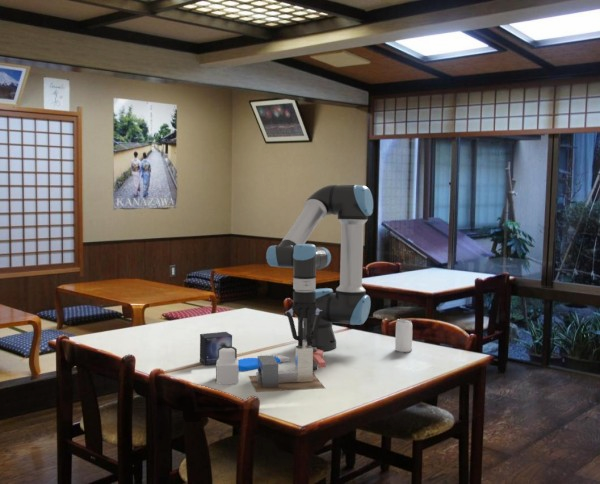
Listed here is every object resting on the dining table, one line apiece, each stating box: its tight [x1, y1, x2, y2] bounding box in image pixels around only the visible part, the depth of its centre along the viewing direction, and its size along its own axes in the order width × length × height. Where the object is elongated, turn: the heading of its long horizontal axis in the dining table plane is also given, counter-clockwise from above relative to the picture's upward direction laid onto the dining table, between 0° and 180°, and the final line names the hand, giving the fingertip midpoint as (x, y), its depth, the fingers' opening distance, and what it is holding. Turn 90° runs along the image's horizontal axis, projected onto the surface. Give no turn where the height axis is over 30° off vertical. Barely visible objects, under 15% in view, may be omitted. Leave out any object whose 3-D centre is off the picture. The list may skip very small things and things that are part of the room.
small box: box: [199, 331, 233, 366], centre depth 250 cm, size 11×6×10 cm, turn 117°
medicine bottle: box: [215, 346, 239, 385], centre depth 224 cm, size 7×7×12 cm
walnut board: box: [248, 372, 326, 393], centre depth 223 cm, size 18×22×1 cm
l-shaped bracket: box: [255, 345, 314, 384], centre depth 223 cm, size 4×18×11 cm, turn 102°
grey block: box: [257, 355, 279, 388], centre depth 222 cm, size 11×5×8 cm, turn 12°
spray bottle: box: [237, 354, 291, 372], centre depth 247 cm, size 3×11×24 cm
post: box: [313, 360, 318, 372], centre depth 238 cm, size 3×3×5 cm
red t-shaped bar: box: [312, 347, 327, 368], centre depth 233 cm, size 18×7×3 cm, turn 12°
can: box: [394, 318, 413, 353], centre depth 270 cm, size 6×6×12 cm
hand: (303, 359), depth 231 cm, fingers closed
